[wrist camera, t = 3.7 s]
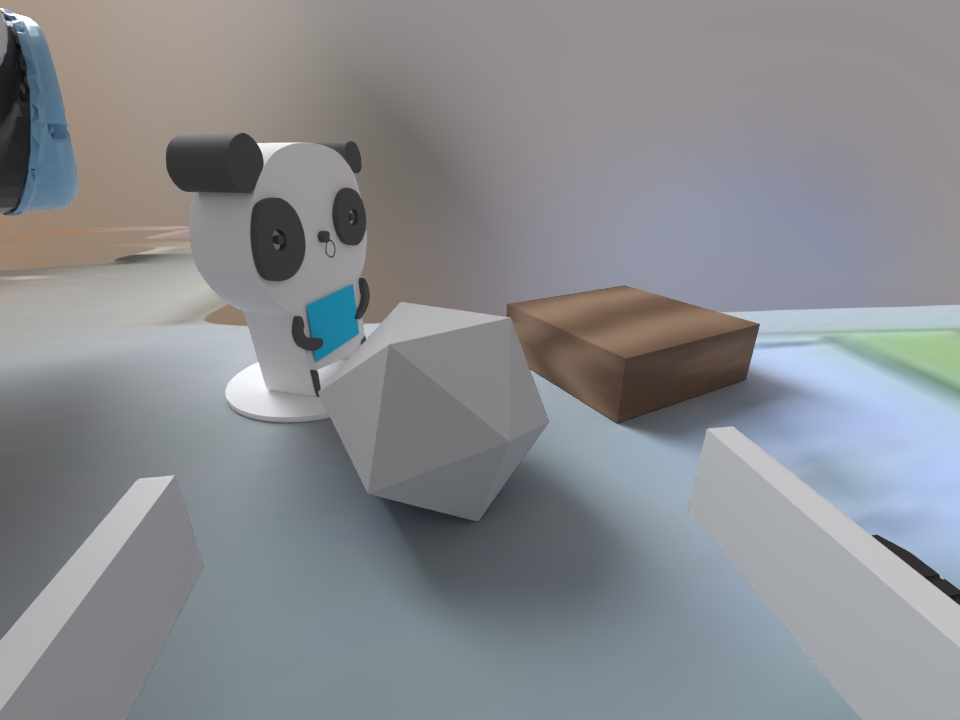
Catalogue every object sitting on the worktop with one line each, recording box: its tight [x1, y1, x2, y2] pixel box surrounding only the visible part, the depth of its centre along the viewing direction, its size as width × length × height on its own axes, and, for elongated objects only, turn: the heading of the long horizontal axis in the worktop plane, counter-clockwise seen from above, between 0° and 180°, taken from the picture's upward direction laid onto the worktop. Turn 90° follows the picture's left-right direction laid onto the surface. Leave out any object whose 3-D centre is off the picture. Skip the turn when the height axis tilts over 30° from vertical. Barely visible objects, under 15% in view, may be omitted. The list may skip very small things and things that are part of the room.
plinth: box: [507, 286, 760, 423], centre depth 33 cm, size 12×12×4 cm
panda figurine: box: [166, 133, 370, 422], centre depth 28 cm, size 12×11×15 cm
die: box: [318, 302, 549, 522], centre depth 20 cm, size 8×9×10 cm
